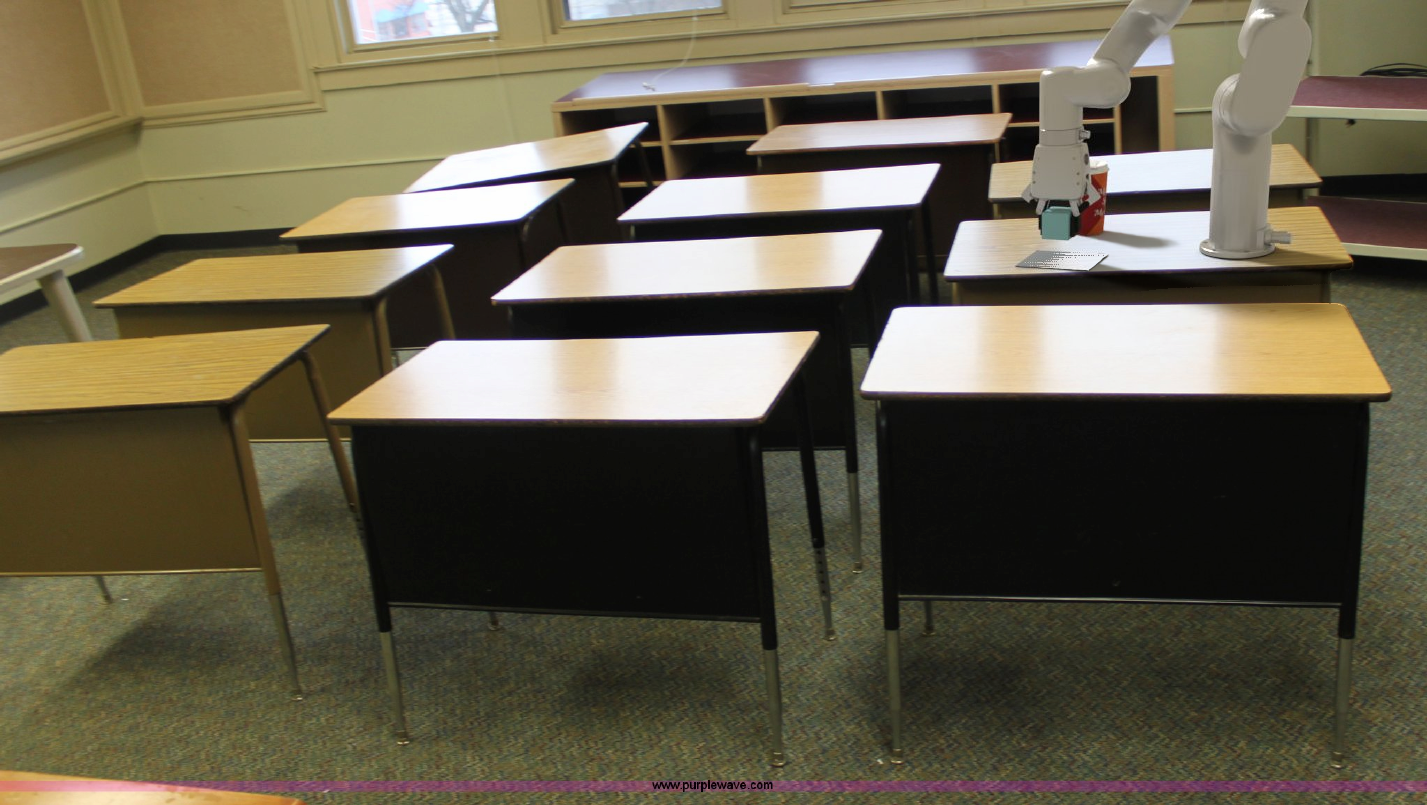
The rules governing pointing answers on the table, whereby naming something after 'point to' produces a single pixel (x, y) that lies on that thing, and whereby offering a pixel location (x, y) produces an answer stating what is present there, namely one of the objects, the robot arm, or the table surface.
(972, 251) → the table surface
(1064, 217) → the teal block
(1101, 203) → the paper cup
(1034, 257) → the slate mat
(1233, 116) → the robot arm
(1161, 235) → the table surface
